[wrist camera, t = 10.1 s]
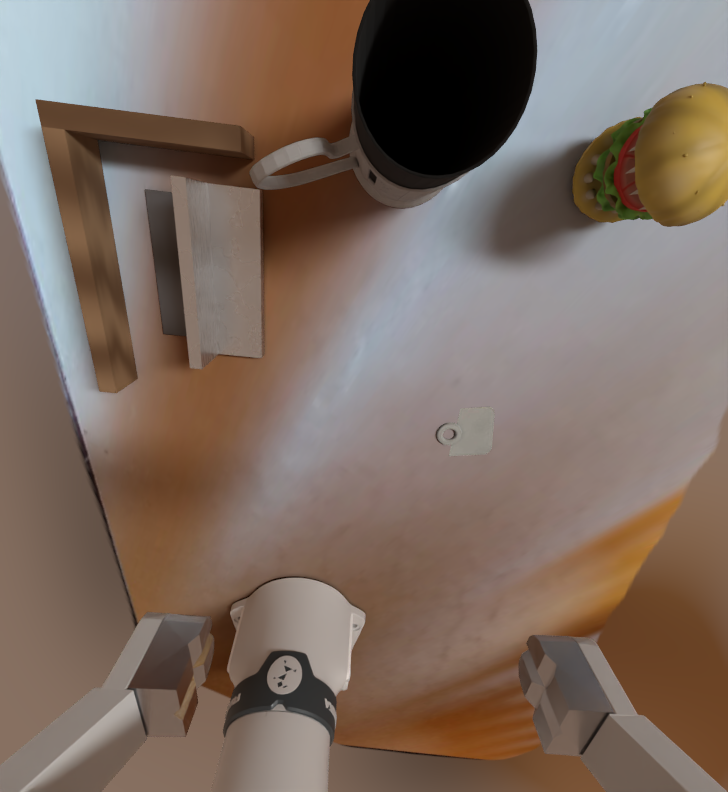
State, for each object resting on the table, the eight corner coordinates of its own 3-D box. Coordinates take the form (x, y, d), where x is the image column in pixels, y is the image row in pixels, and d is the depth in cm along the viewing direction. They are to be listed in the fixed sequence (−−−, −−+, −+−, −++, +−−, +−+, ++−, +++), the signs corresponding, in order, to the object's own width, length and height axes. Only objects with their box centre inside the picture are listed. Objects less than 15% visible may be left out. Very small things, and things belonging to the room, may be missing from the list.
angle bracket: (200, 183, 29) (170, 175, 25) (262, 190, 30) (244, 184, 25) (212, 349, 35) (189, 368, 31) (264, 354, 35) (250, 373, 31)
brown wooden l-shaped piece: (258, 389, 37) (248, 405, 34) (122, 377, 37) (99, 391, 33) (253, 136, 28) (240, 125, 25) (73, 113, 28) (35, 99, 24)
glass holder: (473, 182, 30) (567, 146, 16) (313, 250, 32) (276, 269, 18) (444, 50, 26) (532, -140, 12) (266, 136, 28) (177, 54, 15)
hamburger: (546, 161, 29) (657, 123, 18) (636, 93, 27) (819, 5, 16) (584, 245, 32) (701, 256, 21) (668, 188, 30) (845, 166, 19)
